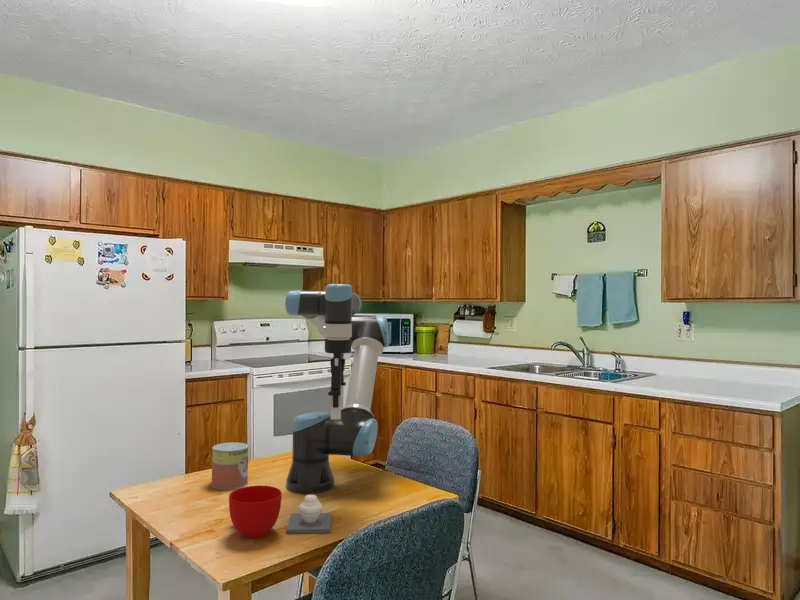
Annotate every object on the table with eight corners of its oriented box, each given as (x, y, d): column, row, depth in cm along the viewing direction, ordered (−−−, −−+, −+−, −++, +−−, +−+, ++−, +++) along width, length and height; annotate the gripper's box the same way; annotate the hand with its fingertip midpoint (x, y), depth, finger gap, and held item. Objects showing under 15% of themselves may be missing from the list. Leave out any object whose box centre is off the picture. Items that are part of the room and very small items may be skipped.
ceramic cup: (255, 515, 150) (256, 478, 150) (290, 533, 138) (291, 494, 138) (210, 528, 141) (211, 489, 141) (245, 549, 129) (246, 506, 129)
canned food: (237, 490, 170) (238, 452, 170) (204, 488, 172) (205, 449, 172) (253, 479, 181) (254, 443, 181) (222, 477, 183) (223, 441, 183)
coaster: (291, 516, 149) (291, 513, 149) (331, 516, 150) (331, 512, 150) (286, 533, 138) (286, 529, 138) (329, 532, 139) (329, 528, 139)
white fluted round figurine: (313, 514, 149) (313, 488, 149) (326, 521, 144) (327, 494, 144) (293, 520, 144) (294, 493, 144) (306, 527, 140) (307, 500, 140)
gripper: (328, 335, 166) (327, 404, 167) (320, 342, 141) (319, 424, 142) (352, 335, 167) (352, 404, 167) (349, 342, 142) (348, 424, 142)
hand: (337, 413), depth 154 cm, fingers open, 13 cm apart
